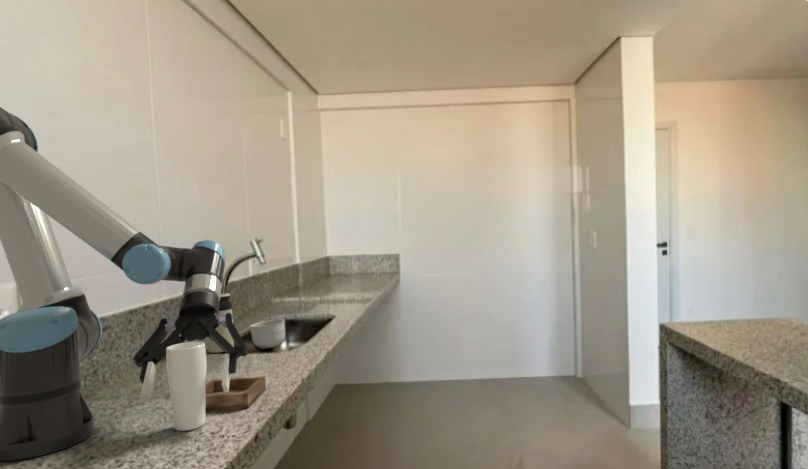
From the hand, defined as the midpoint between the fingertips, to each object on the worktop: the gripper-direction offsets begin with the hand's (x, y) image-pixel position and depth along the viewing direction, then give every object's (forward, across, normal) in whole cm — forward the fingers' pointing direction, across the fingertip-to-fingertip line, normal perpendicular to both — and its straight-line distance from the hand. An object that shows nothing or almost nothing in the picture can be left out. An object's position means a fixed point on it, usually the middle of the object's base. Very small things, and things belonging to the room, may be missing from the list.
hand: (185, 393), depth 85 cm
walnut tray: (-6, -4, -16) cm, 17 cm away
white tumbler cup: (+3, 0, -6) cm, 7 cm away
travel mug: (-45, +8, -55) cm, 71 cm away
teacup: (-45, -8, -55) cm, 71 cm away
